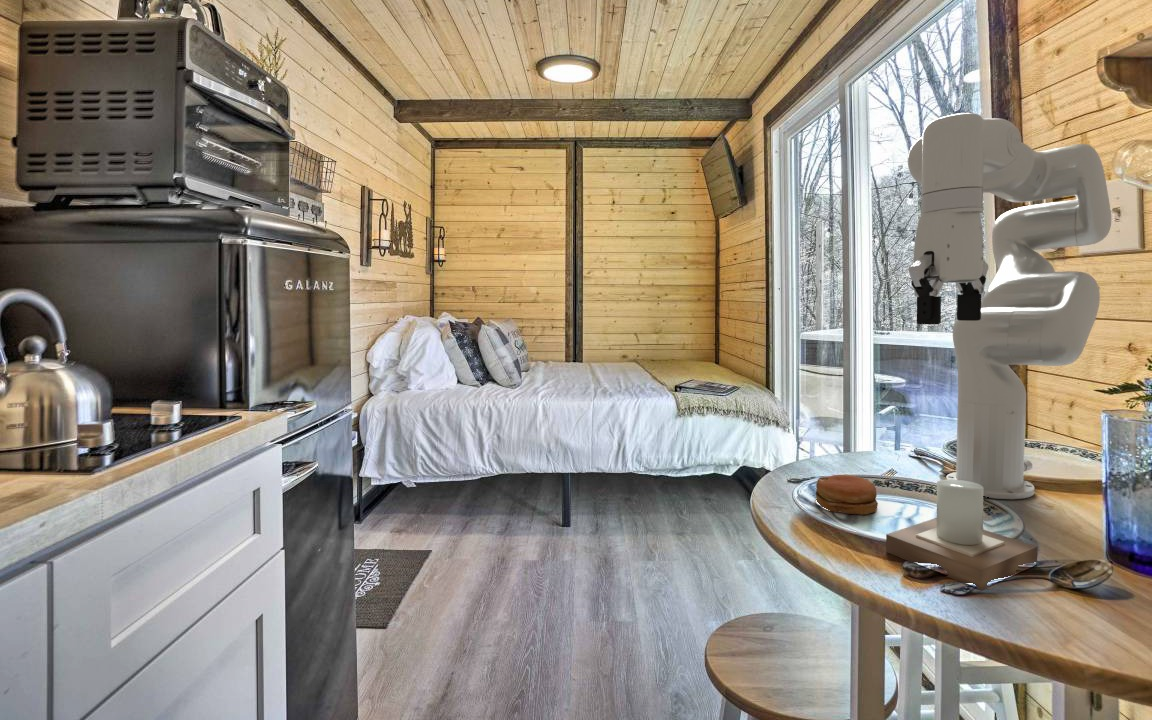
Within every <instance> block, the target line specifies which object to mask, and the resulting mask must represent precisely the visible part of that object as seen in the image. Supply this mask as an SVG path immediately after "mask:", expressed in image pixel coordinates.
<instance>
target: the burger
mask: <svg viewBox="0 0 1152 720" xmlns="http://www.w3.org/2000/svg"><path fill="white" fill-rule="evenodd" d="M815 486H816V490H815V493H814V494H815V496H816V498H817V499H816V498H815V501H816V500H817V502H818V503H819V504H820V505H821V506H822V507H824V508H826V509H828V510H830V511H829V512H833V513H843V514H847V515H850V514H851V515H860V516H864V515H870V514H873V513H875V512H876V511H877V509H878V507H879V505H878V504H879V503H878V501H877V500H876V499H877V495H878V494H877V488H876V486H875V485H874V483H873V482H872V481H870V480H868V479H866V478H864V477H860V476H856V475H850V474H833V475H828V476H827V475H826V476H821V477H819V478H818V479H817V482H816V485H815Z"/></svg>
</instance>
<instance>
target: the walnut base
mask: <svg viewBox="0 0 1152 720" xmlns="http://www.w3.org/2000/svg"><path fill="white" fill-rule="evenodd" d="M885 536H886V537H885V539H886V540H885V552H886V553H888V554H891V555H893V556H895V557H898V558H900V559H903V560H905V561H907V562H910V563H912V562H918V563H931V564H937V565H939V566H941V567H942V568H943V569H944V570H946V571H947V573H948V574H949V575H948V576H946V577H947V578H950V579H952V580H955V581H957V582H959V583H962V584H964V583H973V584H975V585H976V586H977V589H976V590H979V591H982V590H986V589H987V588H990V587H992V586H993V585H991V586H987V583H988V582H990V581H991V580H994V579H998V578H1004V577H1008V576H1011V575H1013V574H1015V573H1016V570H1017V568H1018V565H1023V564H1026V563H1034V562H1037V563H1038V546H1036V545H1034V544H1031V543H1027V542H1025V541H1022V540H1021V541H1020V540H1018V539H1014V538H1012V537H1009V536H1005V535H1002V534H999V533H996V532H993V531H989V530H986V529H983V541H982V543H980V544H977V545H963V544H956V543H952V542H948V541H945V540H943V539H941V538H939V537H938V536H937V517H934V518H932V519H929V520H926V521H923V522H919V523H916V524H914V525H910V526H907V527H905V528H901V529H898V530H895V531H892V532H889V533H886V535H885Z"/></svg>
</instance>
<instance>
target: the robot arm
mask: <svg viewBox="0 0 1152 720" xmlns="http://www.w3.org/2000/svg"><path fill="white" fill-rule="evenodd" d="M907 165H908V166H907V167H908V170H909V174H910V175H911V177H912V178H913V179H914V180H915V181H916V182H917V183H918V184H919V185H921V202H920V203H921V205H920V207H921V208H920V210H921V214H920V215H921V216H919V219H918V222H917V225H916V226H917V228H916V232H915V239H914V249H913V259H912V260H913V261H912V264H911V265H910V266H909V267H908V273H909V275H910V280H911V286H912V287H913V290H914V292H913V293H914V295H913V296H914V297H916V324H918V325H935V326H936V325H940V324H941V322H942V318H941V317H942V316H941V315H942V296H938V295H939V293H940V291H941V289H942V288H943V285H944V284H945V283H946V284H947V283H950V284H951V283H955V284H956V286H957V289H958V290H959V293H960V294H957V295H956V297H957V299H956V320H955V321H954V324H953V328H952V342H953V345H954V346H953V348H954V352H955V358H956V365H957V367H956V368H957V415H956V416H957V418H956V419H957V420H956V421H957V423H956V466H955V467H956V468H955V469H956V470H955V471H954V472H950V473H948V474H947V475H946V476H945V480H948V479H952V480H963V481H969V482H974V483H977V484H979V485H981V486H983V496H986V497H985V498H987V497H989V498H988V499H995V500H996V499H997V500H1022V499H1027V498H1030V497H1032V496H1034V495H1035V494H1036V492H1035V489H1036V488H1035V486H1034V484H1032V483H1031V482H1030V481H1029V480H1025V479H1024V474H1025V473H1024V472H1027V471H1031V470H1032V469H1033V464H1032V462H1031V461H1030V460H1028V459H1025V442H1026V441H1025V440H1026V412H1027V391H1026V388H1025V385H1024V383H1023V381H1022V380H1021V378H1020V377H1019V376H1018V375H1017V373H1015V372H1014V370H1013V369H1012V368H1011V366H1014V365H1022V366H1023V365H1024V366H1043V367H1045V366H1046V367H1047V366H1048V367H1049V366H1050V367H1059V366H1060V367H1062V366H1067V365H1071V364H1073V363H1074V362H1076V361H1077V360H1078V359H1079V358H1080V357H1081V355H1082V353H1083V352H1084V348H1085V347H1086V344H1087V341H1088V338H1089V336H1090V334H1091V331H1092V328H1093V326H1094V324H1095V321H1096V319H1097V315H1098V311H1099V307H1100V301H1101V300H1100V299H1101V297H1100V296H1101V293H1100V289H1099V288H1100V287H1099V284H1098V282H1097V281H1096V279H1095V278H1094V276H1092V275H1091V274H1090V273H1086V272H1083V271H1076V270H1074V271H1073V270H1070V271H1069V270H1067V271H1064V270H1063V271H1055V268H1054V266H1053V265H1052V264H1051V262H1050V261H1049V260H1048V259H1046V258H1045V257H1044V256H1043V255H1042V254H1040V253H1039V252H1037V250H1047V249H1049V250H1050V249H1058V248H1059V249H1060V248H1072V247H1074V248H1075V247H1082V246H1090V245H1094V244H1099V243H1100V242H1101V241H1103V240H1104V239H1106V237H1107V236H1108V235H1109V233H1110V230H1111V227H1112V209H1111V203H1110V198H1109V192H1108V187H1107V186H1108V185H1107V181H1106V174H1105V170H1104V165H1103V162H1102V160H1101V157H1100V155H1099V153H1098V152H1097V151H1096V149H1095V147H1093V146H1092V145H1090V144H1086V143H1077V144H1073V145H1068V146H1063V147H1062V146H1061V147H1055V148H1052V149H1046V150H1041V151H1036V150H1034V149H1033V148H1031V147H1030V146H1029V145H1027V144H1026V143H1024V142H1022V135H1021V132H1020V130H1019V128H1018V127H1017V126H1016V125H1015V124H1014V123H1012V121H1010V120H1007V119H1005V118H1000V117H999V118H998V117H997V118H984V117H982V115H980V114H977V113H974V112H961V113H955V114H950V115H946V116H942V117H939V118H937V119H934V120H932V121H930V122H928V123H927V125H926V126H925V127H924V129H923V132H922V136H921V137H919V138H918V139H917V140H916V141H914V143H913V144H912V146H911V147H910V149H909V152H908V155H907ZM986 193H987V194H988V193H989V194H992V195H994V196H996V197H998V198H1000V199H1003V200H1005V201H1008V202H1011V203H1027V202H1037V201H1042V200H1048V199H1049V200H1050V199H1051V200H1052V199H1057V198H1064V197H1065V198H1066V197H1071V196H1073V197H1075V198H1076V199H1069V200H1061V201H1060V200H1059V201H1053V202H1046V203H1039V204H1032V205H1025V206H1020V207H1017V208H1013V209H1011V210H1008V211H1006V212H1004V213H1002V214H1000V216H998V218H997V219H996V220H995V222H994V224H993V227H992V231H991V232H992V234H991V242H992V252H993V258H994V262H995V265H996V269H997V271H996V273H995V275H994V276H993V278H992V281H990V284H989V286H988V287H987V288H986V290H985V292H984V285H985V283H986V282H987V278H986V277H987V273H988V270H989V264H988V263H987V262H986V261H985V260H984V235H983V225H982V224H983V222H982V218H981V214H982V213H983V209H984V204H983V203H984V194H986ZM983 293H984V295H983V296H982V294H983ZM1010 365H1011V366H1010Z"/></svg>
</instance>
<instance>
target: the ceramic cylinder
mask: <svg viewBox="0 0 1152 720" xmlns="http://www.w3.org/2000/svg"><path fill="white" fill-rule="evenodd" d="M936 518H937V536H938V537H939V538H941V539H943V540H945V541H948V542H952V543H956V544H963V545H977V544H980V543H982V541H983V530H984V497H983V486H981V485H979V484H977V483H974V482H969V481H963V480H952V479H948V480H946V479H940V480H938V481H937V482H936Z"/></svg>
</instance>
